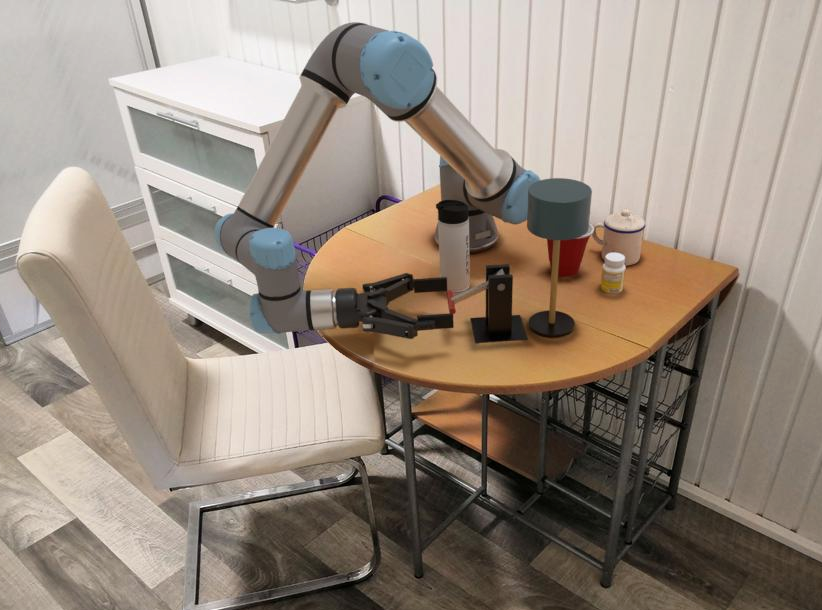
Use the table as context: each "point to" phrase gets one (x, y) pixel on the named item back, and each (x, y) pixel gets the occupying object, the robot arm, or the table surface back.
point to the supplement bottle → (613, 273)
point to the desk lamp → (557, 238)
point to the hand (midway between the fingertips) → (450, 301)
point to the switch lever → (468, 293)
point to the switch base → (498, 310)
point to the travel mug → (454, 244)
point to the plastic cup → (570, 253)
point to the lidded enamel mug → (622, 235)
